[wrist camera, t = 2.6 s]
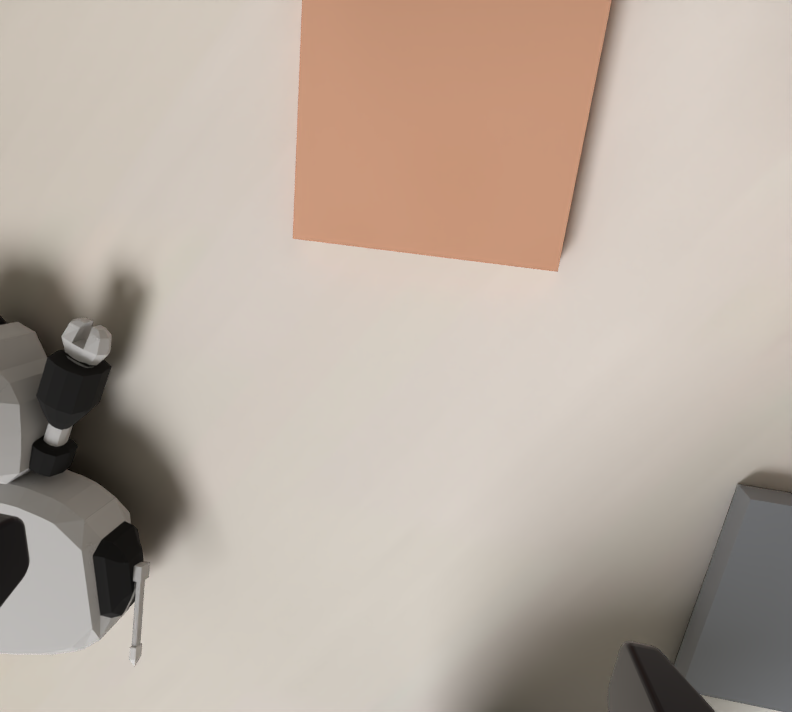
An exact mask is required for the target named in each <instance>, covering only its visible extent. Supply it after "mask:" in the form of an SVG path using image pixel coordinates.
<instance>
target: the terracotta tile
mask: <svg viewBox="0 0 792 712" xmlns="http://www.w3.org/2000/svg"><path fill="white" fill-rule="evenodd" d="M611 1H612V0H302V19H301V45H300V70H299V95H298V120H297V145H296V171H295V196H294V221H293V239H301V240H309V241H317V242H325V243H333V244H341V245H349V246H357V247H365V248H373V249H381V250H389V251H397V252H405V253H413V254H421V255H429V256H437V257H445V258H453V259H461V260H469V261H477V262H485V263H493V264H501V265H509V266H517V267H525V268H533V269H541V270H549V271H557V272H558V267H559V262H560V257H561V252H562V247H563V242H564V237H565V232H566V227H567V222H568V217H569V212H570V207H571V202H572V197H573V192H574V186H575V181H576V176H577V171H578V166H579V161H580V156H581V151H582V146H583V141H584V136H585V131H586V126H587V121H588V116H589V111H590V106H591V101H592V96H593V91H594V86H595V81H596V76H597V71H598V66H599V61H600V56H601V51H602V46H603V41H604V36H605V31H606V26H607V21H608V16H609V11H610V6H611Z"/></svg>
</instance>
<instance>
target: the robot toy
mask: <svg viewBox="0 0 792 712" xmlns="http://www.w3.org/2000/svg"><path fill="white" fill-rule="evenodd" d="M92 324H93V321H92V320H90V319H88V318H76V319H72V321H71V322H70V323H69V325H68V326H67V328H66V330H65V331H64V333H63V335H62V336H61V337H62V341H63V346H64V350H60V351H58V352H56V353H54V354H52V355H51V356H49V357H47V356H46V354H45V352H44V349H43V347H42V345H41V343H40V341H39V339H38V337H37V334H36V332H35V331H33V330H31V329H29V328H28V327H26V326H24V325H22V324H21V323H19V322H13V323H8V324H7V323H6V322H5V321H4V319H3V318H2V317H1V316H0V513H1V514H6V515H11V516H16V517H19V518H20V519H22V521H23V522H24V524H25V529H26V536H27V543H28V551H29V558H30V563H29V567H28V570H27V573H26V574H25V576H24V578H23V579H22V580H21V582H20V583H19V584H18V586H17V587H16V588H15V589H14V591H13V592H12V593H11V595H10V596H9V597H8V598H7V600H6V601H5V602H4V603H3V605H2V606H1V607H0V653H3V654H61V653H69V652H75V651H79V650H82V649H85V648H86V647H88V646H90V645H92V644H93V643H95V642H97V641H99V640H100V639H101V638H102V637H103V636H104V635H105V634H106V633H107V632H108V631H109V630H110V628H111V627H112V626H113V625H114V624H115V623H116V622H117V621H118V620H119V619H120V618H121V617H122V616H123V615H124V613H125V612H126V611H127V610H128V609H129V607H130V606H131V605H132V604H133V603H134V602H135V608H134V623H133V637H132V646H131V647H130V656H129V660H130V661H131V662H132V664H133V665H134V667H135V665H136V663H137V662H138V660H139V658H140V657H141V651H142V643H140V641H141V627H142V612H143V598H144V583H145V579H147V578H148V577H149V564H150V563H149V562H143V553H142V548H141V544H140V540H139V535H138V530H137V529H136V527H135V526H134V525H132V524H131V520H130V512H129V511H128V510H127V509H126V508H125V507H124V506H123V505H122V504H121V502H120V501H119V500H118V499H117V498H116V497H115V496H114V495H112V494H111V493H110V492H109V491H108V490H106V489H105V488H104V487H102V486H101V485H99V484H98V483H96V482H94V481H93V480H91V479H89V478H87V477H85V476H82V475H79V474H77V473H74V472H71V471H69V470H66V469H67V468H68V467H69V466H70V465H71V464H72V461H73V458H74V455H75V452H76V449H77V446H78V445H77V444H76V443H75V442H74V441H73V440H72V439H70V438H69V436H70V432H71V429H72V426H73V425H74V424H75V423H76V422H78V421H79V420H80V419H81V418H82V417H83V416H84V415H86V414H87V413H88V412H89V411H90V410H91V409H92V408H93V407H94V406H96V405H97V404H98V403H99V402H100V399H101V396H102V393H103V390H104V387H105V384H106V381H107V378H108V375H109V372H110V369H111V366H110V365H109V364H108V363H107V362H106V361H105V360H104V358H105V357H106V356H108V354H109V353H110V351H111V339H112V335H111V334H110V332H109V331H108V330H107V328H105V327H103V326H102V325H98V326H92Z"/></svg>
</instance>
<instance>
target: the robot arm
mask: <svg viewBox="0 0 792 712" xmlns="http://www.w3.org/2000/svg"><path fill="white" fill-rule="evenodd" d="M29 563H30V558H29V551H28V543H27V536H26V529H25V524H24V522H23V521H22V519H20V518H19V517H16V516H11V515H6V514H1V513H0V607H1V606H2V605H3V603H4V602H5V601H6V600H7V598H8V597H9V596H10V595H11V593H12V592H13V591H14V589H15V588H16V587H17V586H18V584H19V583H20V582H21V580H22V579H23V578H24V576H25V574H26V573H27V570H28V567H29ZM608 710H609V712H715V711H714V710H713V709H712V708H711V706H710V705H709V704H708V703H707V702H706V701H705V700H704V699H703V698H702V696H701V695H700V694H699V693H698V692H697V691H696V690H695V689H694V687H693V686H692V685H691V684H690V683H689V682H688V681H687V680H686V679H685V677H684V676H683V675H682V674H681V673H680V672H679V671H678V670H677V669H676V667H675V666H674V665H673V664H672V663H671V662H670V661H669V660H668V659H667V657H666V656H665V655H664V654H663V653H662V652H661V651H660V650H659V649H658V648H656V647H654V646H652V645H647V644H642V643H637V642H632V641H626V642H624V643H623V644H622V646H621V648H620V650H619V654H618V657H617V660H616V663H615V667H614V670H613V673H612V676H611V680H610V683H609V688H608Z"/></svg>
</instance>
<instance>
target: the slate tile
mask: <svg viewBox="0 0 792 712" xmlns="http://www.w3.org/2000/svg"><path fill="white" fill-rule="evenodd" d="M674 666H675V667H676V669H677V670H678V671H679V672H680V673H681V674H682V675H683V676H684V677H685V679H686V680H687V681H688V682H689V683H690V684H691V685H692V686H693V687H694V689H695V690H696V691H697V692H698V693H699V694H701V695H706V696H711V697H715V698H720V699H725V700H730V701H734V702H739V703H744V704H749V705H753V706H758V707H763V708H768V709H772V710H777V711H782V712H792V493H788V492H782V491H776V490H770V489H764V488H758V487H752V486H746V485H740V484H738V485H737V488H736V491H735V494H734V496H733V499H732V502H731V505H730V508H729V511H728V513H727V516H726V519H725V522H724V525H723V528H722V530H721V533H720V536H719V539H718V542H717V545H716V547H715V550H714V553H713V556H712V559H711V562H710V564H709V567H708V570H707V573H706V576H705V579H704V581H703V584H702V587H701V590H700V593H699V596H698V598H697V601H696V604H695V607H694V610H693V613H692V615H691V618H690V621H689V624H688V627H687V630H686V632H685V635H684V638H683V641H682V644H681V647H680V649H679V652H678V655H677V658H676V661H675V664H674Z"/></svg>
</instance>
